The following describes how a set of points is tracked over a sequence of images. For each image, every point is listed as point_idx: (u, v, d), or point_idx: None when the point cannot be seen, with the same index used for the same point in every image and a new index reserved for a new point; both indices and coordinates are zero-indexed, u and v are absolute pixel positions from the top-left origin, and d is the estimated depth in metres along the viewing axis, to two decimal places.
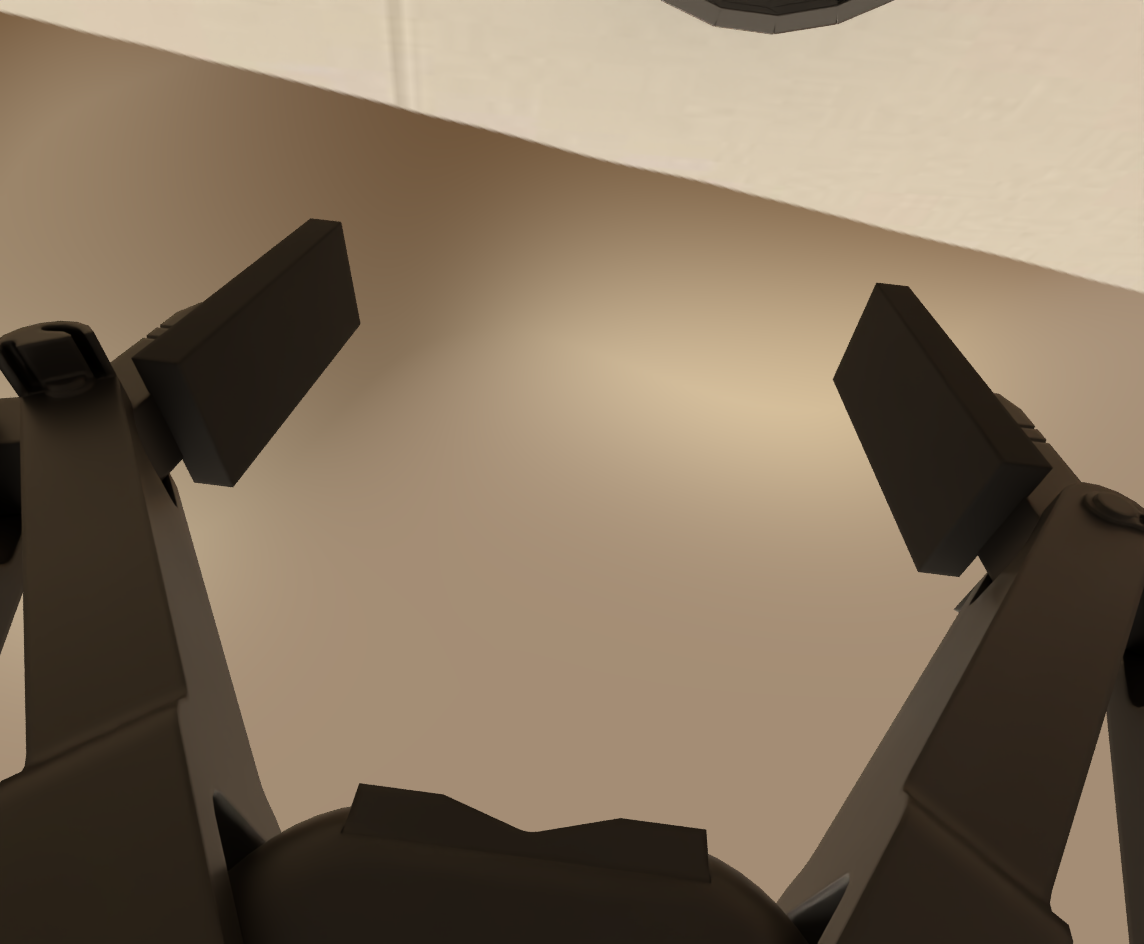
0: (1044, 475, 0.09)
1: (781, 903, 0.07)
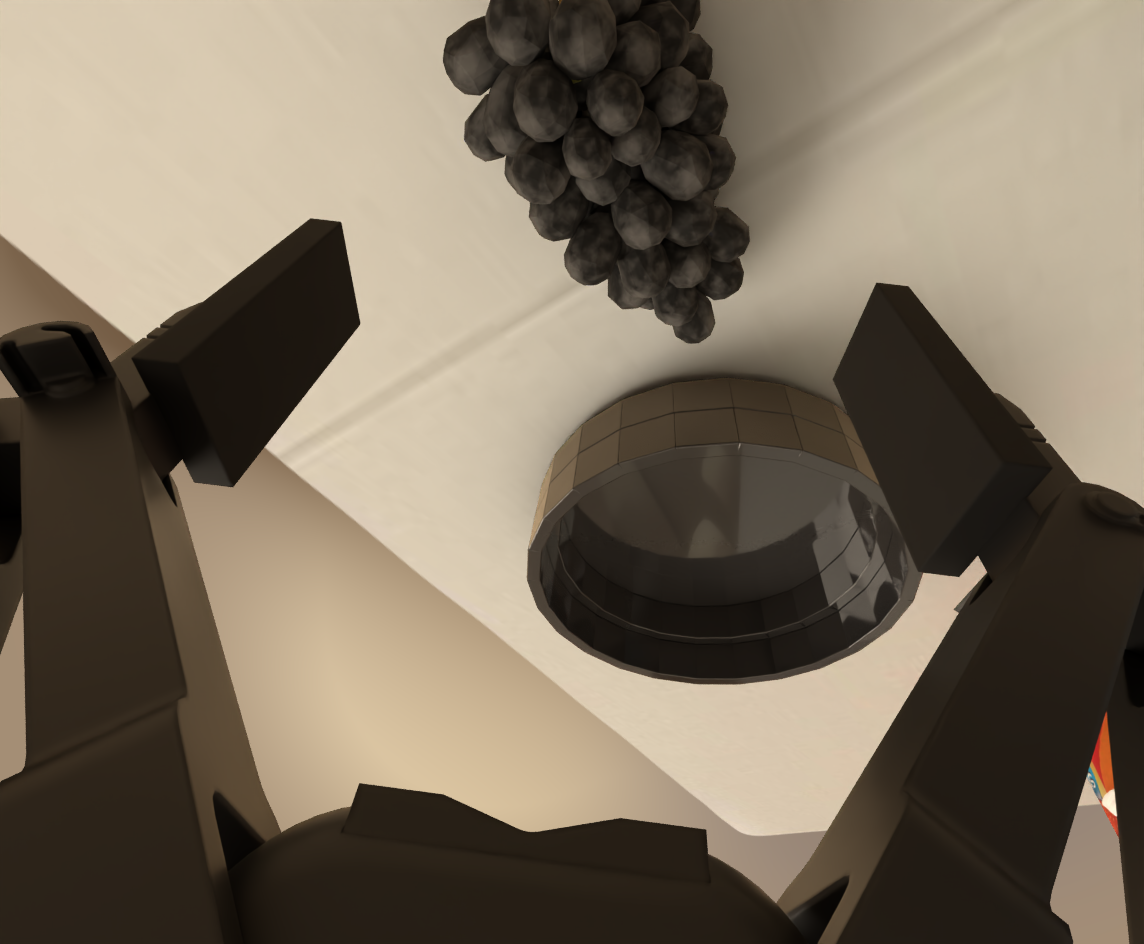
0: (1044, 475, 0.09)
1: (781, 903, 0.07)
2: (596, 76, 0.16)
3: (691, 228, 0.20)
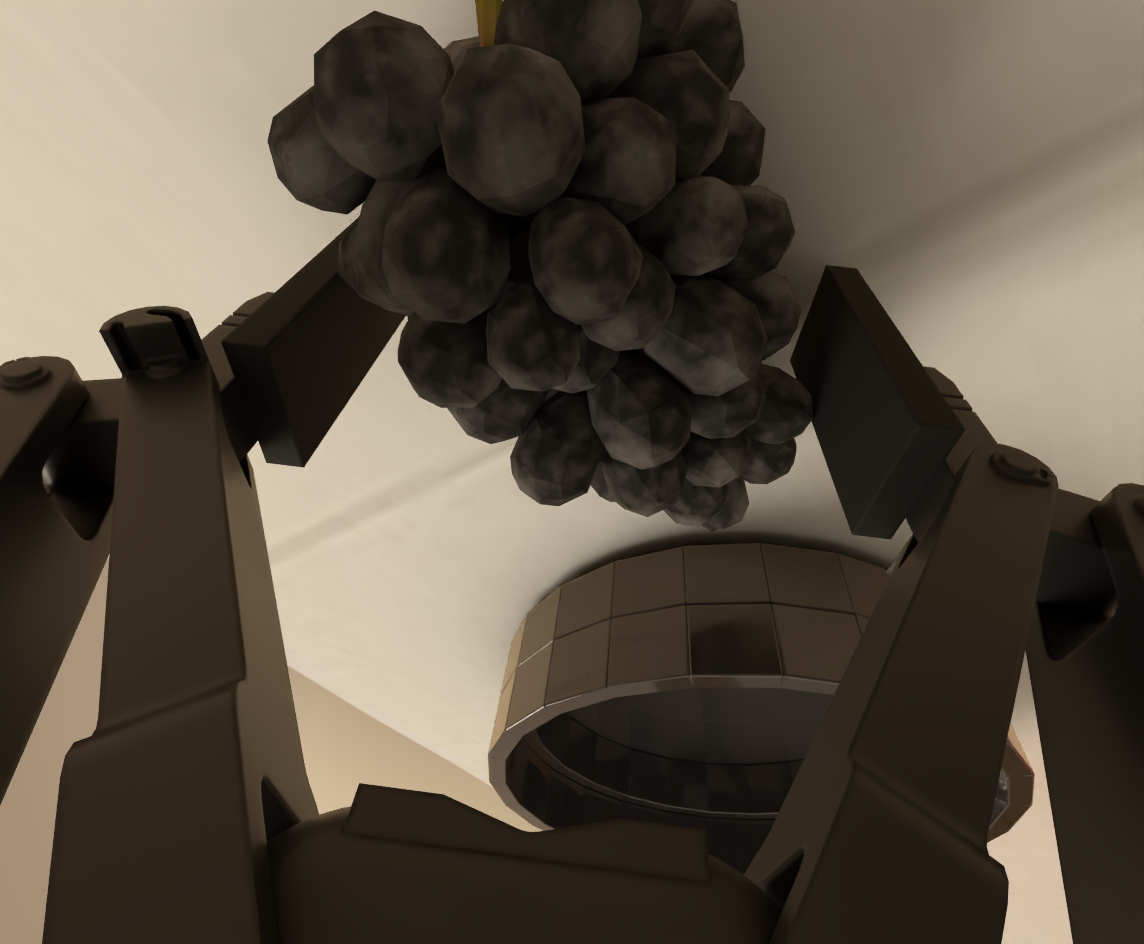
0: (958, 437, 0.09)
1: None
2: (544, 212, 0.08)
3: (723, 423, 0.12)
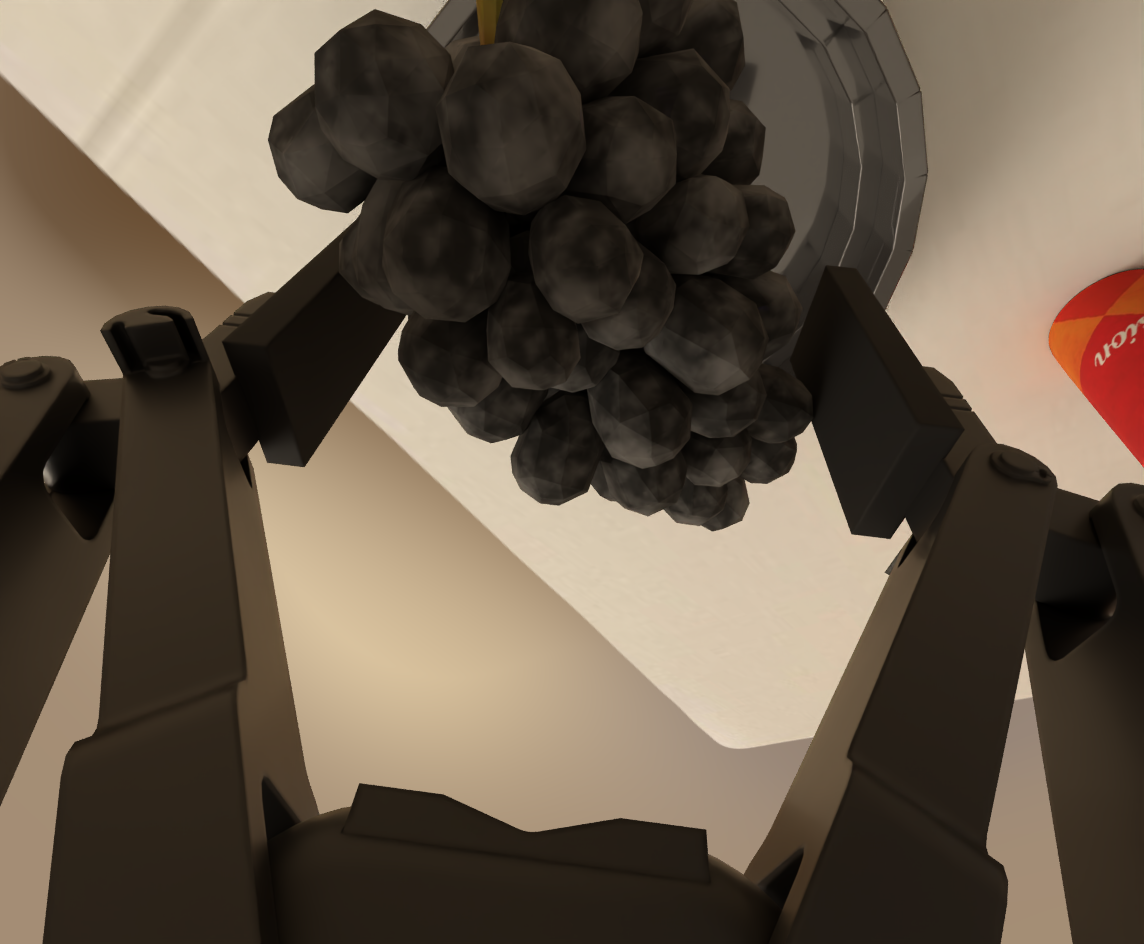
0: (957, 436, 0.09)
1: None
2: (544, 210, 0.08)
3: (724, 423, 0.12)
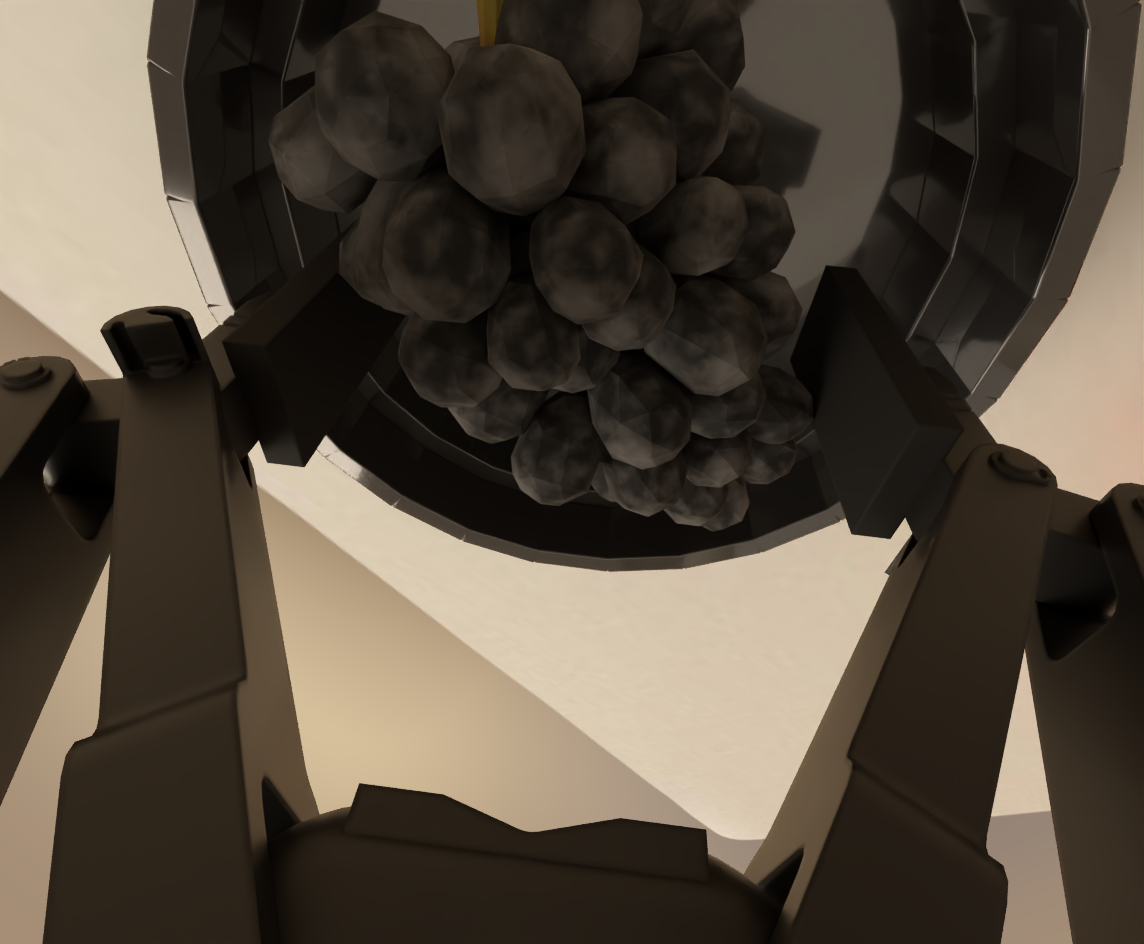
0: (957, 436, 0.09)
1: None
2: (545, 211, 0.08)
3: (724, 423, 0.12)
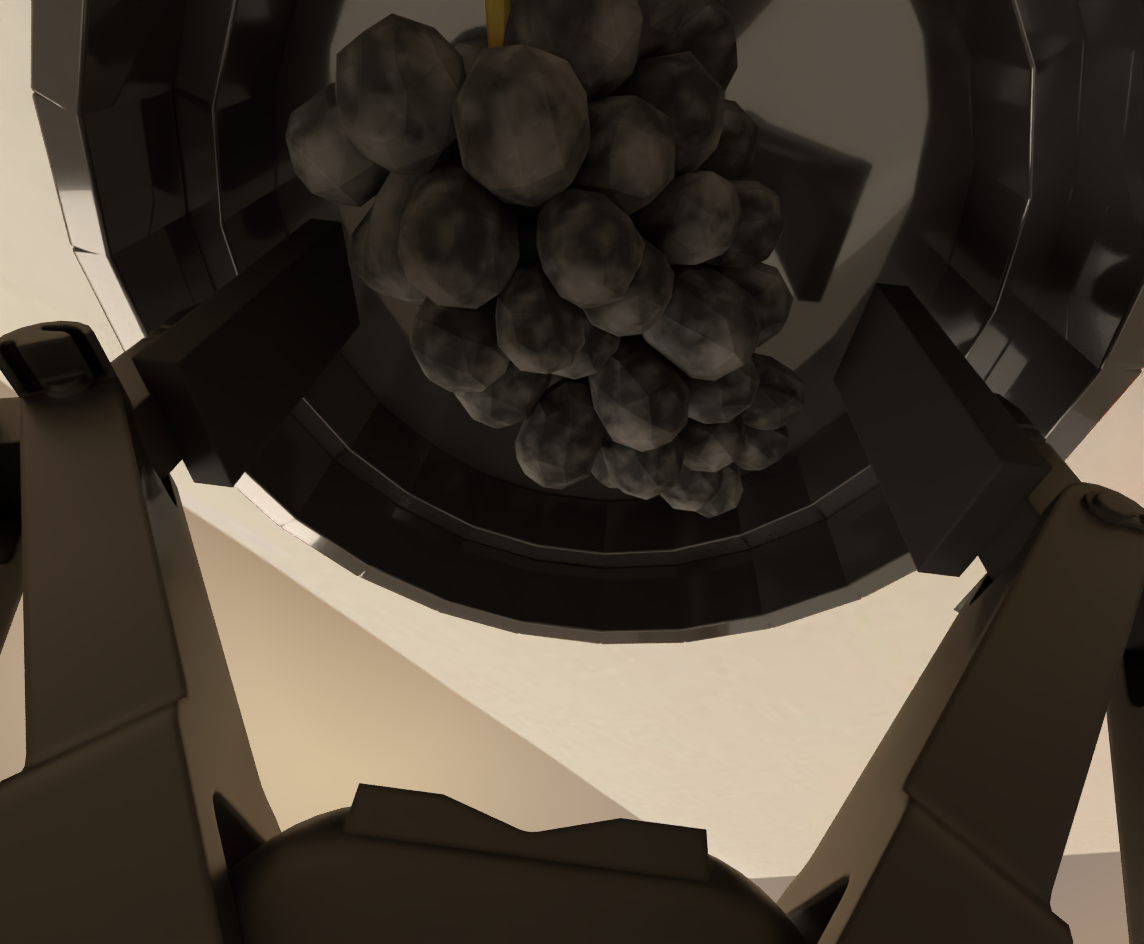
0: (1044, 475, 0.09)
1: (781, 903, 0.07)
2: (552, 202, 0.08)
3: (719, 408, 0.12)
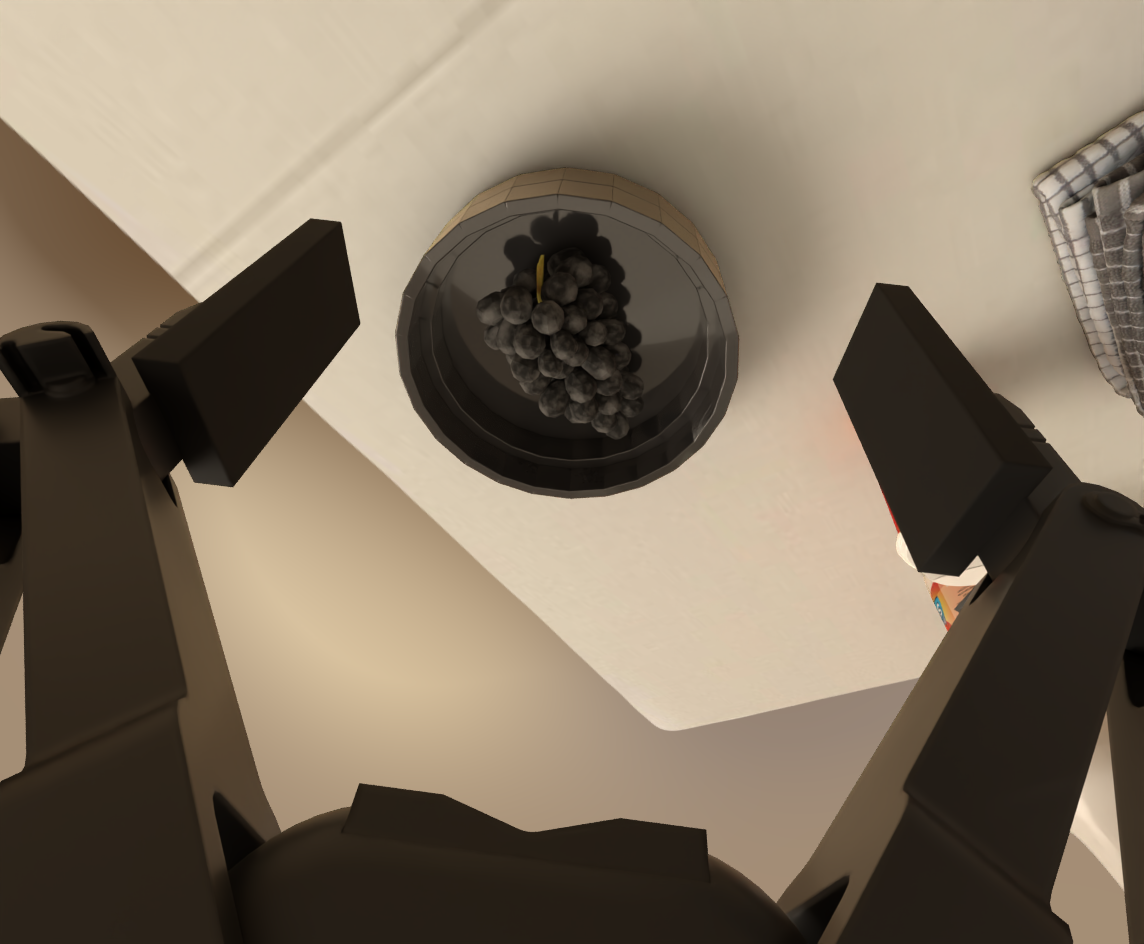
0: (1044, 475, 0.09)
1: (781, 903, 0.07)
2: (554, 333, 0.33)
3: (608, 389, 0.37)
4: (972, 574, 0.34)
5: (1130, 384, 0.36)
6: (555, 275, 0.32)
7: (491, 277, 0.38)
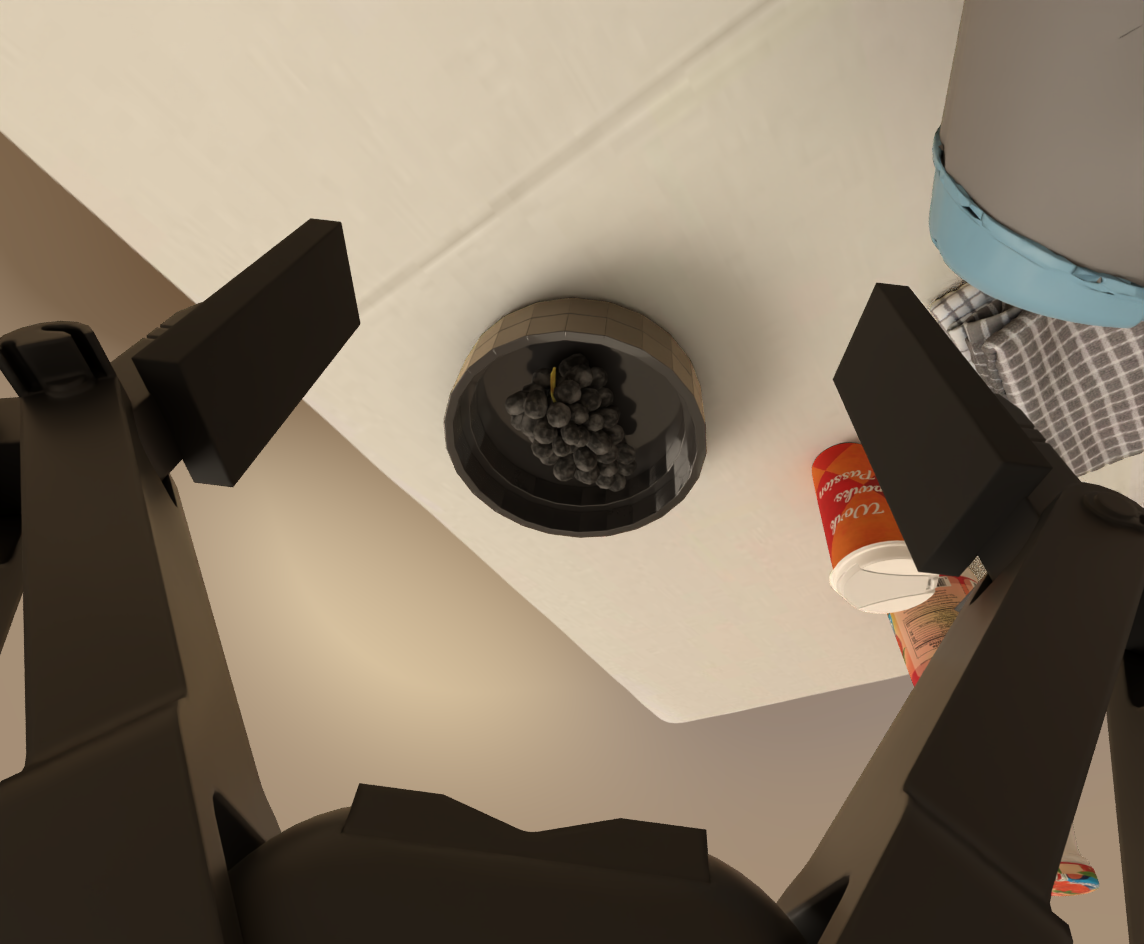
0: (1044, 475, 0.09)
1: (781, 903, 0.07)
2: (564, 426, 0.43)
3: (606, 460, 0.48)
4: (888, 605, 0.45)
5: None
6: (564, 383, 0.43)
7: (515, 371, 0.49)
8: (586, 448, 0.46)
